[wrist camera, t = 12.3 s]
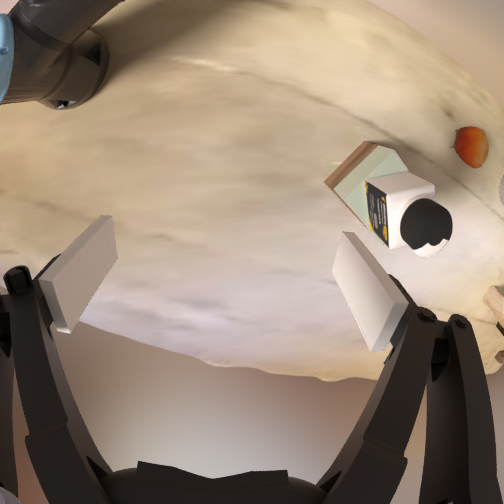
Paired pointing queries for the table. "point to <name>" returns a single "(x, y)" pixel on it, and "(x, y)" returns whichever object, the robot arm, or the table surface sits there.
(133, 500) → the robot arm
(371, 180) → the medicine bottle
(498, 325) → the coffee grinder
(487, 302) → the beer glass
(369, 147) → the walnut slab
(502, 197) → the lumpy-topped squat cylinder
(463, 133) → the fruit
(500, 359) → the wooden block
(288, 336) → the table surface
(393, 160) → the sage slab
